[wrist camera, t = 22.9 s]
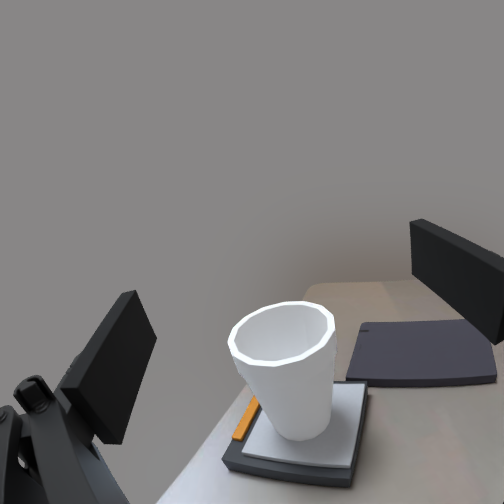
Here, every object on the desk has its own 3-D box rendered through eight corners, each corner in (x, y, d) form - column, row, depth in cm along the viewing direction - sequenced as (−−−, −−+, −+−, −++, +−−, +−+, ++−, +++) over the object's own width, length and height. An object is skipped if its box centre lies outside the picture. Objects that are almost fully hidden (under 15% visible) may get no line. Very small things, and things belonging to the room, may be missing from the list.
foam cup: (248, 444, 28) (208, 360, 24) (276, 387, 36) (251, 302, 31) (334, 456, 24) (323, 369, 20) (350, 391, 31) (342, 299, 27)
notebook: (346, 384, 37) (494, 382, 26) (345, 377, 36) (497, 374, 26) (361, 329, 47) (482, 325, 36) (361, 321, 46) (484, 317, 36)
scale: (227, 469, 28) (218, 455, 27) (268, 389, 40) (263, 373, 39) (349, 487, 22) (349, 475, 21) (367, 393, 34) (367, 376, 33)
